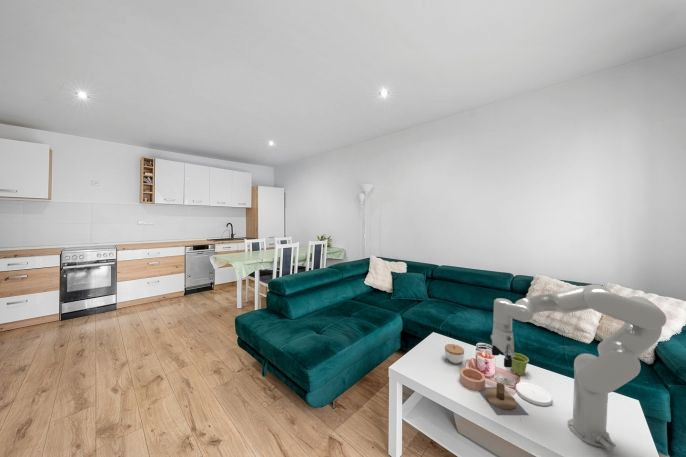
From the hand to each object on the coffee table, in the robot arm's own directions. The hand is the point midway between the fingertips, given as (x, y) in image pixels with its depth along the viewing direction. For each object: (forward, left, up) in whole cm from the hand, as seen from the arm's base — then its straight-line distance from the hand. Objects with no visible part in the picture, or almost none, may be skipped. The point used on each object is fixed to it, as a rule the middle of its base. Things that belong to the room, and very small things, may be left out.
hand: (501, 360), depth 117 cm
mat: (-1, +1, -19) cm, 19 cm away
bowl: (+11, +8, -19) cm, 23 cm away
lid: (-1, +1, -18) cm, 18 cm away
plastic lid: (+2, -17, -19) cm, 26 cm away
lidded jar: (+32, +8, -19) cm, 38 cm away
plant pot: (+21, -23, -19) cm, 37 cm away
